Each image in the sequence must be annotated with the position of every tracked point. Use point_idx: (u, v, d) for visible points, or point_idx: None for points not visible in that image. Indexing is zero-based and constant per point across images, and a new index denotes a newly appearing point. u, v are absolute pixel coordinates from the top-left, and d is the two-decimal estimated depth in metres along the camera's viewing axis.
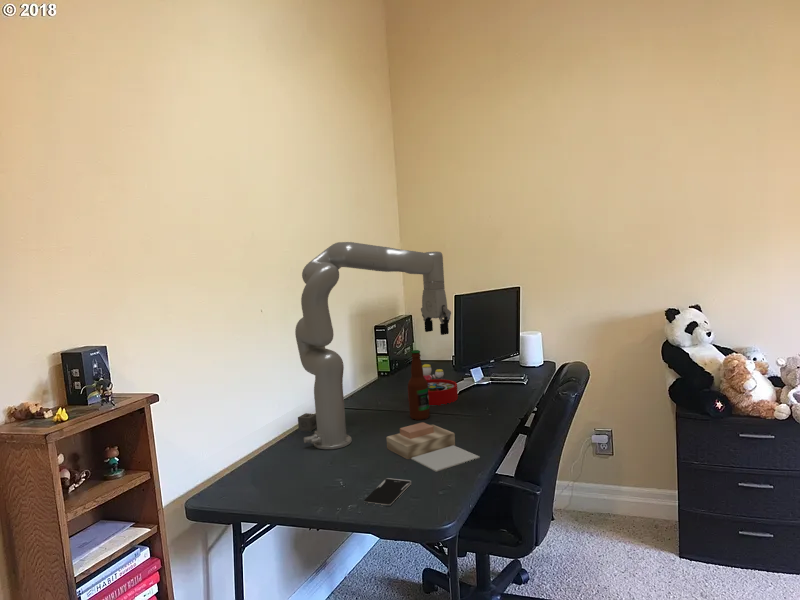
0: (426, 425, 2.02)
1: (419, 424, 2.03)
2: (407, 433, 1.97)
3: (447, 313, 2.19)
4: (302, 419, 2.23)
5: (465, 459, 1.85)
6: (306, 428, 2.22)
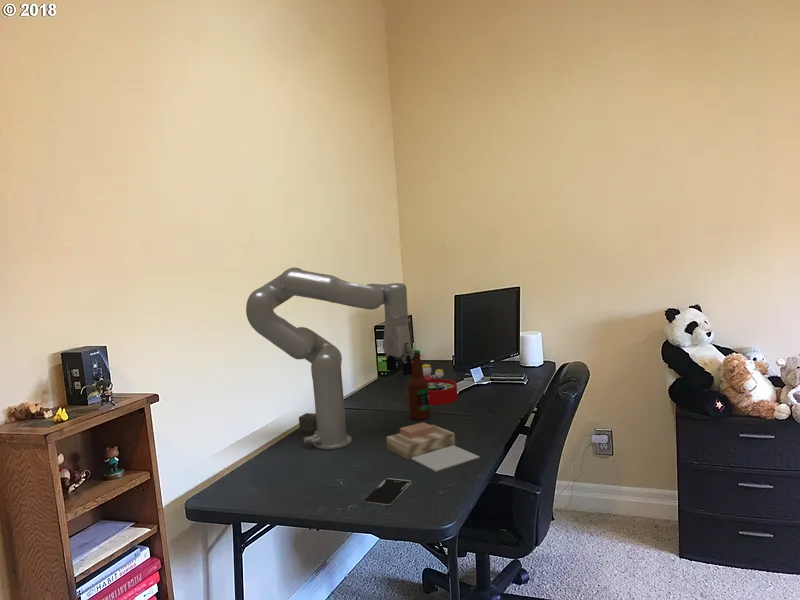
0: (426, 425, 2.02)
1: (419, 424, 2.03)
2: (407, 433, 1.97)
3: (410, 352, 1.99)
4: (303, 419, 2.23)
5: (465, 459, 1.85)
6: (307, 428, 2.23)
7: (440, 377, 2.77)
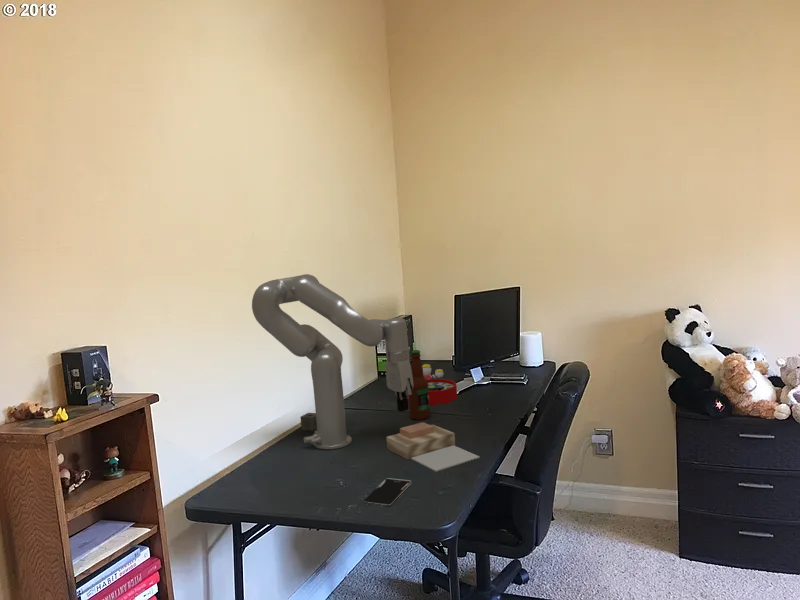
0: (426, 425, 2.02)
1: (419, 424, 2.03)
2: (407, 433, 1.97)
3: (407, 393, 2.02)
4: (305, 418, 2.23)
5: (465, 459, 1.85)
6: (309, 427, 2.23)
7: (440, 377, 2.77)
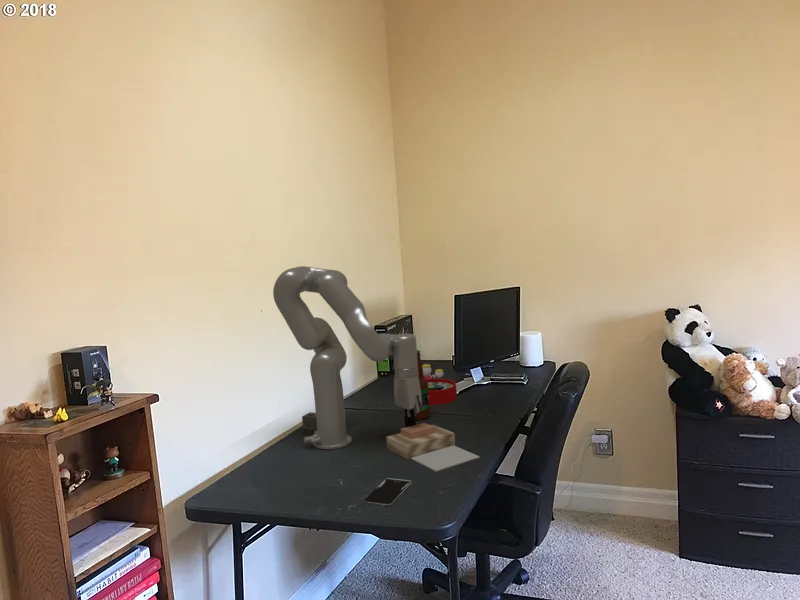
0: (427, 425, 2.01)
1: (420, 424, 2.02)
2: (408, 434, 1.96)
3: (415, 411, 1.99)
4: (306, 418, 2.23)
5: (465, 459, 1.85)
6: (310, 427, 2.23)
7: (440, 377, 2.77)
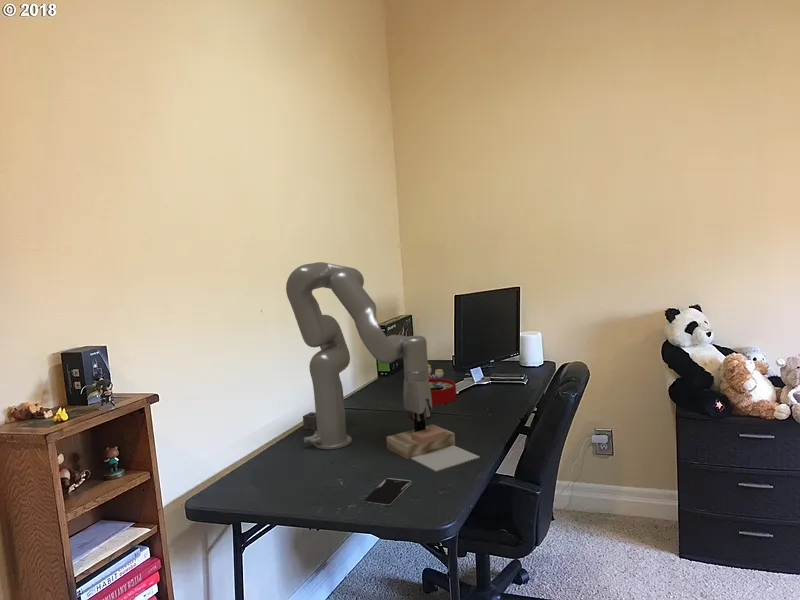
0: (438, 429, 1.96)
1: (430, 429, 1.97)
2: (418, 439, 1.91)
3: (425, 415, 1.94)
4: (307, 418, 2.24)
5: (465, 459, 1.85)
6: (311, 427, 2.23)
7: (440, 377, 2.77)
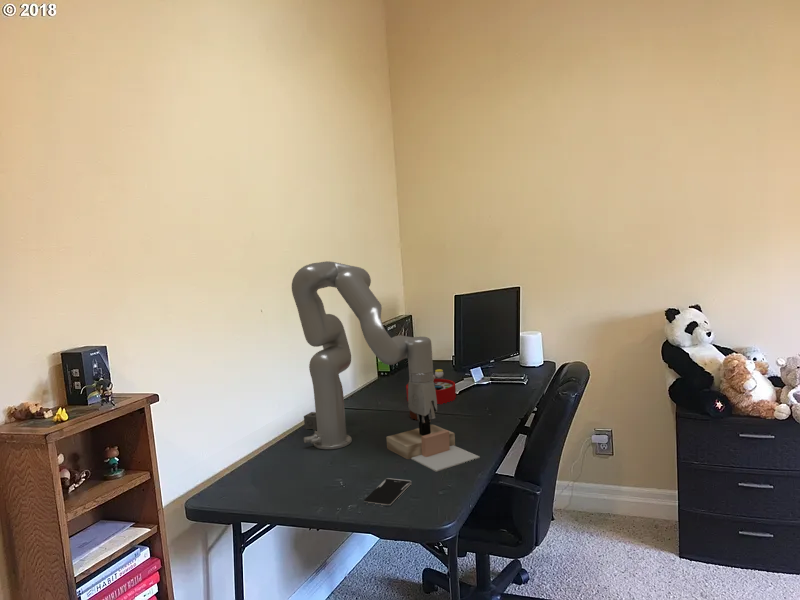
0: (447, 442, 1.93)
1: (443, 436, 1.92)
2: (424, 451, 1.89)
3: (430, 417, 1.91)
4: (308, 418, 2.24)
5: (465, 459, 1.85)
6: (312, 427, 2.23)
7: (440, 377, 2.77)
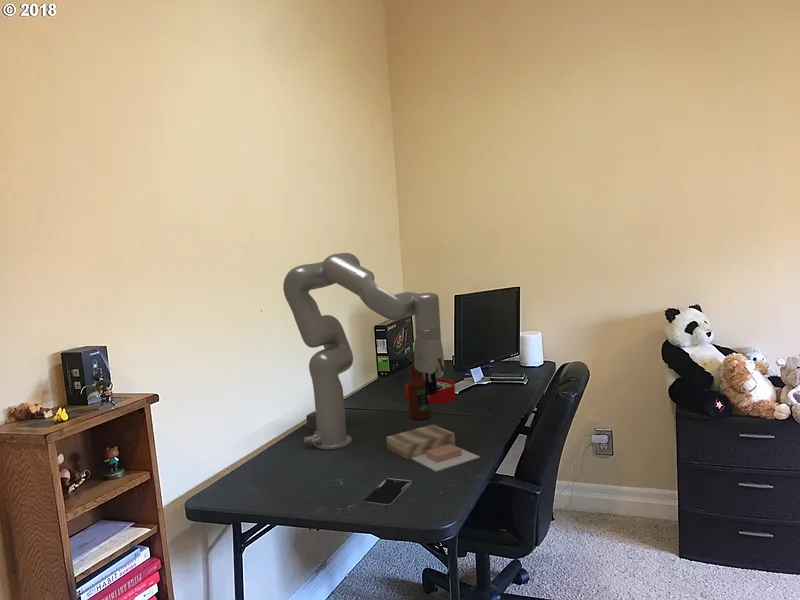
0: None
1: None
2: (429, 456, 1.88)
3: (437, 375, 1.85)
4: (311, 417, 2.24)
5: (465, 459, 1.85)
6: (315, 426, 2.24)
7: (440, 377, 2.77)
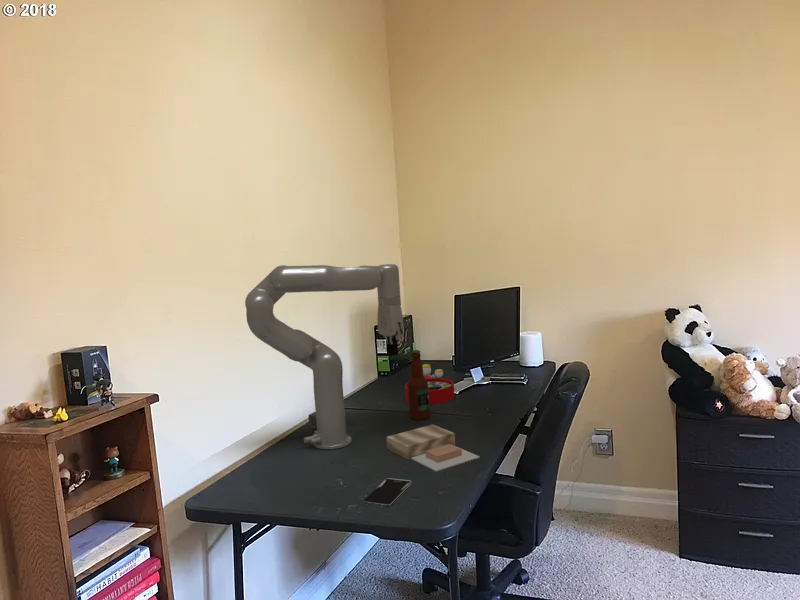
0: None
1: None
2: (429, 456, 1.88)
3: (397, 338, 2.06)
4: (313, 417, 2.24)
5: (465, 459, 1.85)
6: None
7: (440, 377, 2.77)
